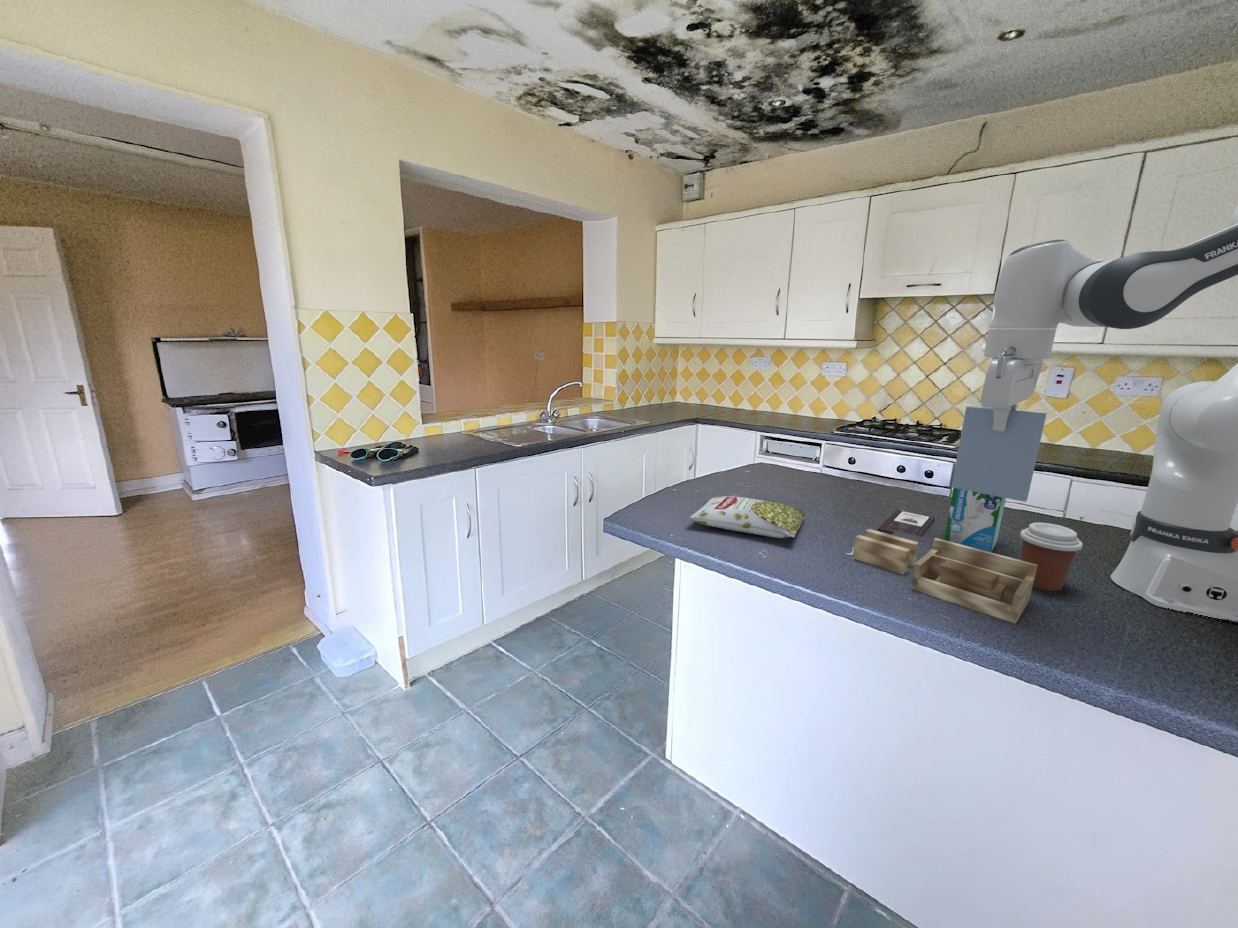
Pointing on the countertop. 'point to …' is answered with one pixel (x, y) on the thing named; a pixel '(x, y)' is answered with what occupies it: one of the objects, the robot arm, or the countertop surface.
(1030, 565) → the rack
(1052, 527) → the coffee cup
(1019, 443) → the sheet
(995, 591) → the offcut
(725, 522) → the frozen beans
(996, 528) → the milk carton
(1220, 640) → the countertop surface
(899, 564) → the stand
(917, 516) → the chocolate bar
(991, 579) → the offcut
